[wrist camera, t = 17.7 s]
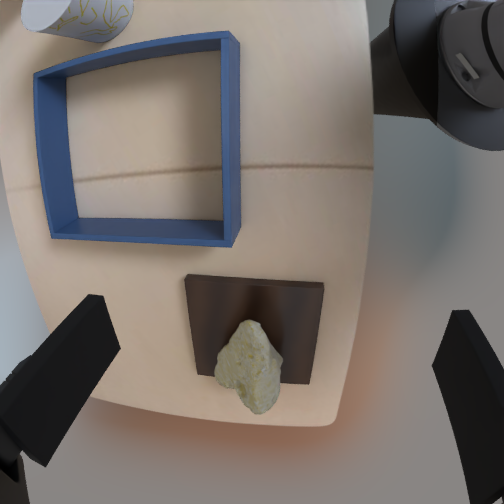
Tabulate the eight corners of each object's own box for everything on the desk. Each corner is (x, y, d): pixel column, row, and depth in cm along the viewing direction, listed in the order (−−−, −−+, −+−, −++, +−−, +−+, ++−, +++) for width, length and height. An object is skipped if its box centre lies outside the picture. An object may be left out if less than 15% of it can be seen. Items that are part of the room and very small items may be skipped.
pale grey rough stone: (259, 382, 51) (324, 404, 38) (223, 403, 47) (282, 435, 34) (232, 298, 50) (295, 299, 37) (191, 315, 46) (245, 324, 33)
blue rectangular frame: (239, 42, 30) (229, 30, 24) (241, 227, 39) (231, 247, 34) (61, 73, 33) (33, 73, 27) (75, 222, 42) (51, 238, 36)
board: (323, 282, 41) (324, 288, 39) (309, 377, 48) (309, 384, 47) (187, 273, 43) (184, 279, 41) (199, 368, 50) (197, 374, 49)
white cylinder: (111, 50, 31) (50, 39, 20) (72, 33, 30) (11, 23, 19) (144, -3, 28) (92, -33, 17) (102, -17, 26) (47, -41, 16)
